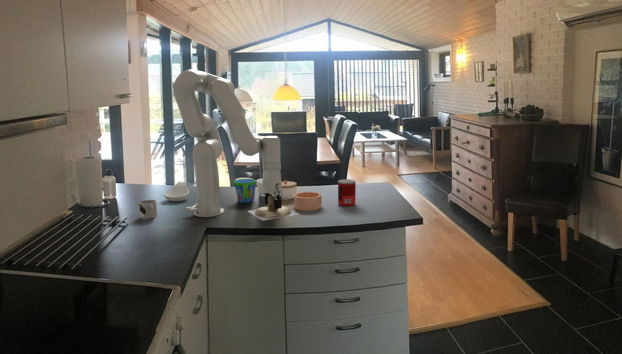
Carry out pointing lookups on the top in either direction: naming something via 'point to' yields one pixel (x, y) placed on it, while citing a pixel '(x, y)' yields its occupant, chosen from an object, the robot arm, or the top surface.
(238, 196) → the snack cup
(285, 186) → the lidded jar
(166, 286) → the top surface
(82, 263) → the top surface
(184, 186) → the spoon rest
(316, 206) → the bowl
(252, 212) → the mat
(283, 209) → the lid
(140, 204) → the mug
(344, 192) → the canned food
